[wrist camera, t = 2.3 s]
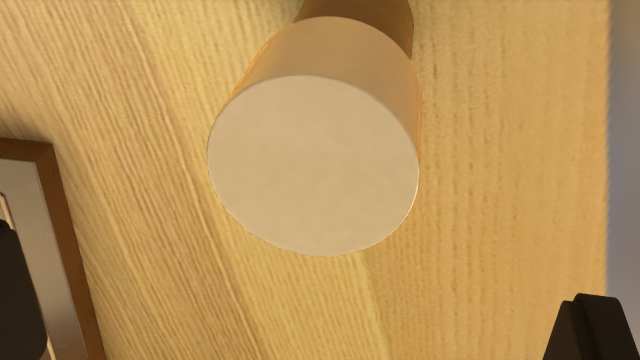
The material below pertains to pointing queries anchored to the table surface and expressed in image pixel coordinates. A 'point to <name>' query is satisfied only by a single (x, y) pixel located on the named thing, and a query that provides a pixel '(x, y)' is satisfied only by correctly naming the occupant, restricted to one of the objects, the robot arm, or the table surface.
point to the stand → (368, 16)
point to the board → (49, 248)
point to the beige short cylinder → (320, 139)
